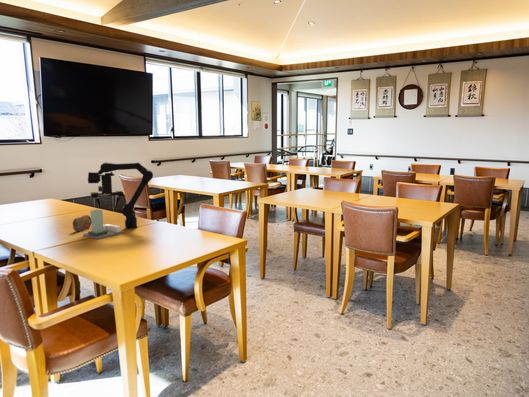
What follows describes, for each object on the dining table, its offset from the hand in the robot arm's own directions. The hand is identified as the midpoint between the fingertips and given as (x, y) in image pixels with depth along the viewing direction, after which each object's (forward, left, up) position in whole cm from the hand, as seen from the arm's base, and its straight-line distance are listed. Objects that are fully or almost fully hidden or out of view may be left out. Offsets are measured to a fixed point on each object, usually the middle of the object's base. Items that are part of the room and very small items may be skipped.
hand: (107, 208), depth 247 cm
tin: (+15, -4, -13) cm, 20 cm away
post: (+8, +15, -12) cm, 21 cm away
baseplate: (+4, +13, -13) cm, 19 cm away
